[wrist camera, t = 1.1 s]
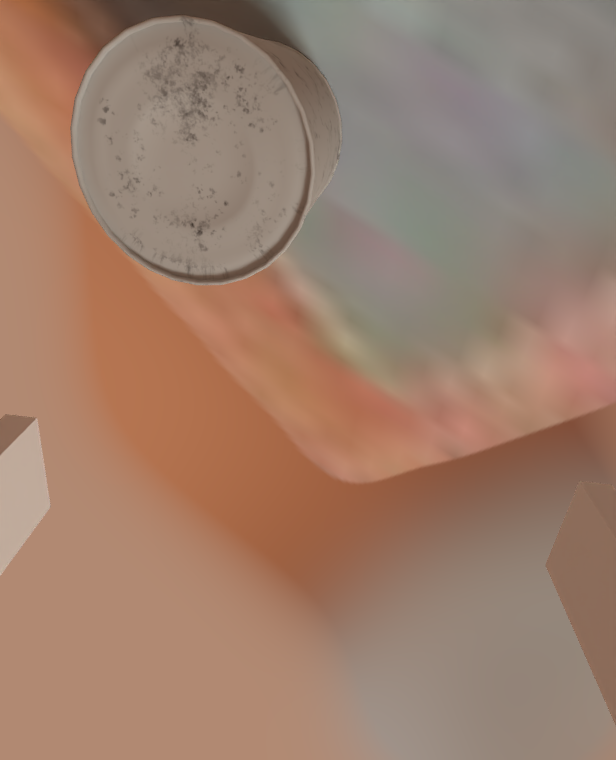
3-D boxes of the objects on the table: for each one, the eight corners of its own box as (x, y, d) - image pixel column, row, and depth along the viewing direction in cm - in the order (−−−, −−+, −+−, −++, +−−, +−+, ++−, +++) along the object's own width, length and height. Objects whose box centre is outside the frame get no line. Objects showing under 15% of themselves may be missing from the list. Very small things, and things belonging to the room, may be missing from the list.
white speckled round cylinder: (377, 128, 30) (369, 155, 20) (271, 252, 34) (216, 329, 24) (245, -6, 28) (154, -60, 17) (149, 143, 32) (28, 174, 22)
